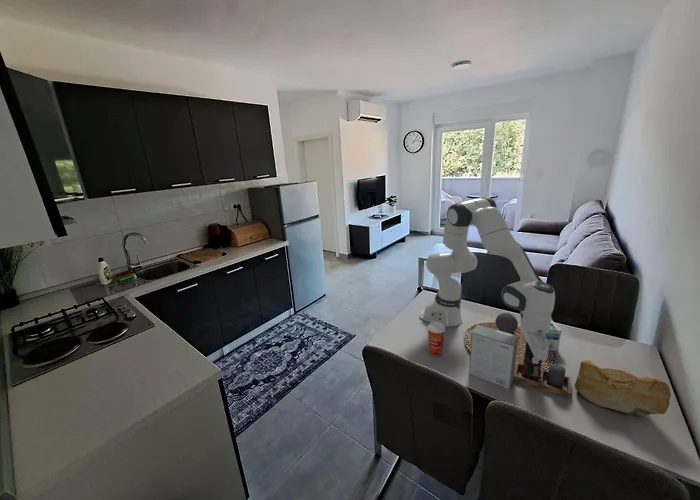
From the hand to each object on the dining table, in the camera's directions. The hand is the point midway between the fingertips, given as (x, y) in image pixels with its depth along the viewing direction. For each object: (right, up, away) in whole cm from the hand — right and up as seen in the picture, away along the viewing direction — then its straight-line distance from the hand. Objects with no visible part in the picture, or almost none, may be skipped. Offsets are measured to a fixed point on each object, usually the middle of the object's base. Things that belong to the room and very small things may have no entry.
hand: (530, 354), depth 114 cm
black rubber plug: (+8, -11, -2) cm, 14 cm away
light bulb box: (+21, -4, +23) cm, 32 cm away
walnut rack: (+4, -11, +1) cm, 12 cm away
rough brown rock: (+25, -13, -9) cm, 30 cm away
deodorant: (+1, -10, +3) cm, 11 cm away
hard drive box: (-13, -11, +5) cm, 18 cm away
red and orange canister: (-31, -7, +22) cm, 39 cm away
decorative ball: (+8, -1, +34) cm, 35 cm away
